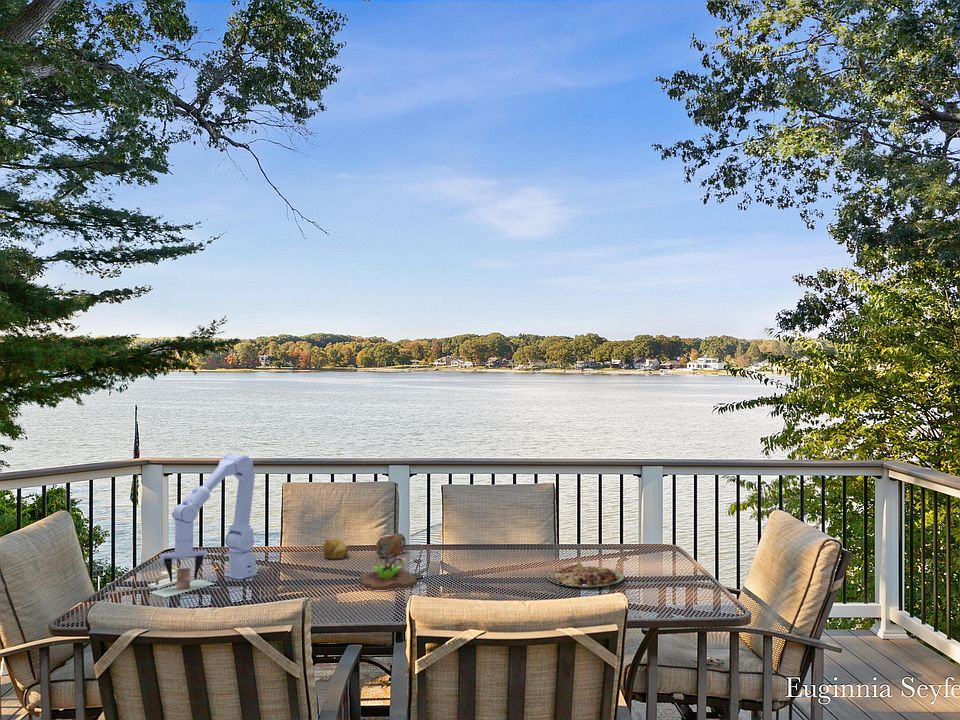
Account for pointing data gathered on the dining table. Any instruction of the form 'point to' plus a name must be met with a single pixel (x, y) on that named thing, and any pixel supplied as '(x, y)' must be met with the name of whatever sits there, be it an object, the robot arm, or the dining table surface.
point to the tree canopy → (391, 544)
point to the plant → (388, 577)
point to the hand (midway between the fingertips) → (183, 579)
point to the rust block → (183, 579)
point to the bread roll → (334, 549)
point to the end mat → (173, 590)
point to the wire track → (165, 582)
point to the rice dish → (586, 576)
